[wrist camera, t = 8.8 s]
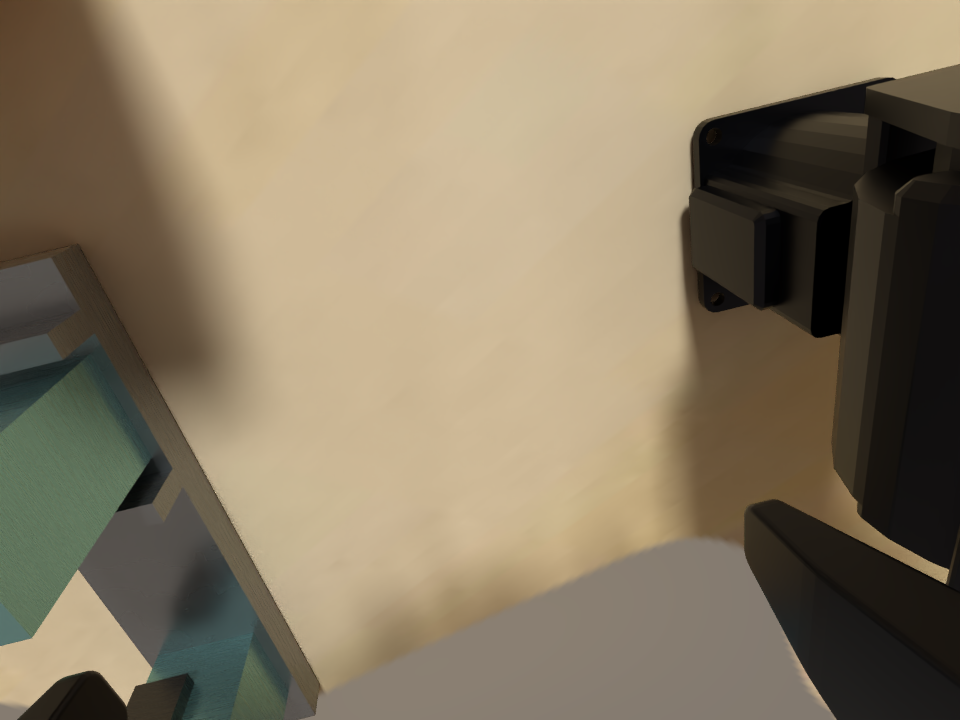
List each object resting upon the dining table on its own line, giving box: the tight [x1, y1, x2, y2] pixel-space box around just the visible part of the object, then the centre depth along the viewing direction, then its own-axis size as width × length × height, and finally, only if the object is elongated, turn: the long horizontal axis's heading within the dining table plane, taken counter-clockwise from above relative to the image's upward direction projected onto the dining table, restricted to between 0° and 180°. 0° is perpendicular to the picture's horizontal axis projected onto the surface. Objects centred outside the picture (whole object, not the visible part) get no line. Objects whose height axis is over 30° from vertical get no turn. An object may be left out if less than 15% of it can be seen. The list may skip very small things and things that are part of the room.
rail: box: [0, 244, 319, 720], centre depth 19 cm, size 5×22×8 cm, turn 12°
